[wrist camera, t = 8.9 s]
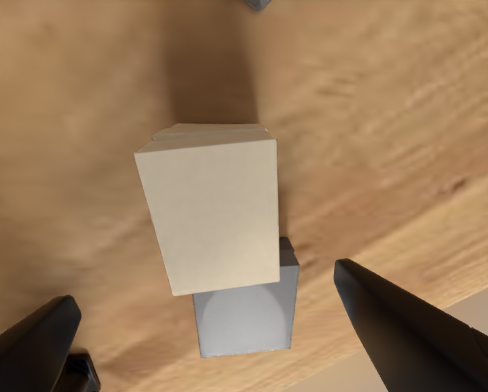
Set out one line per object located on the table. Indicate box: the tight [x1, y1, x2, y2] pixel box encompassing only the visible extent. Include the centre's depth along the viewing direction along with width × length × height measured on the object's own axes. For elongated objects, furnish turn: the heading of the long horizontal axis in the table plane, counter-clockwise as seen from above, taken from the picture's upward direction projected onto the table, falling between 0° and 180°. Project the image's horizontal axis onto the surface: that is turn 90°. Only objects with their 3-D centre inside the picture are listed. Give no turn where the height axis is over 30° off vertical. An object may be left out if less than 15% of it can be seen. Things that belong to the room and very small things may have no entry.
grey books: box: [193, 238, 300, 358], centre depth 21 cm, size 10×9×4 cm
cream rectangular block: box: [134, 131, 280, 296], centre depth 12 cm, size 8×6×3 cm
